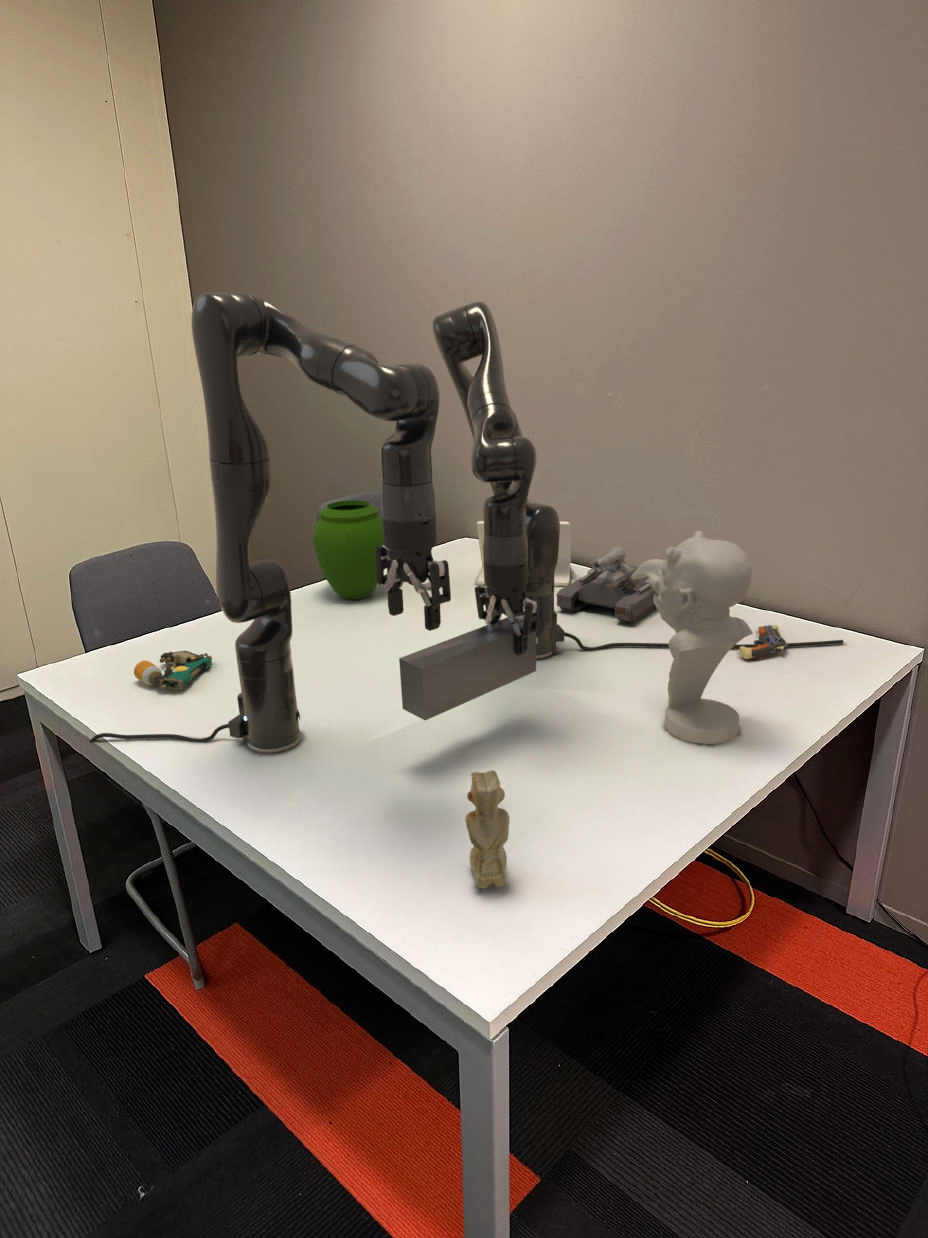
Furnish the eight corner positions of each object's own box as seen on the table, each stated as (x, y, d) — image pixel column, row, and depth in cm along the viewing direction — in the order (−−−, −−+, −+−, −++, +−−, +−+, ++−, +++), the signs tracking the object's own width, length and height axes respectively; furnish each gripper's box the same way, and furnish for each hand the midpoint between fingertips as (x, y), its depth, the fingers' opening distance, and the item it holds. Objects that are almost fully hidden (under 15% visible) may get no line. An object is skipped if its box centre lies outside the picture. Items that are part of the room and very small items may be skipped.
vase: (406, 590, 229) (401, 501, 221) (360, 612, 214) (353, 517, 206) (350, 579, 239) (343, 494, 231) (303, 600, 224) (293, 509, 216)
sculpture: (507, 859, 119) (506, 764, 113) (512, 893, 112) (511, 794, 107) (465, 861, 118) (462, 767, 113) (468, 895, 112) (465, 796, 106)
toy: (603, 584, 229) (605, 530, 224) (673, 597, 218) (677, 540, 213) (555, 612, 210) (556, 553, 205) (630, 627, 199) (633, 566, 194)
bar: (513, 661, 156) (512, 615, 153) (536, 671, 152) (536, 623, 149) (402, 709, 141) (398, 658, 137) (425, 720, 136) (422, 668, 133)
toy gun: (742, 650, 179) (792, 647, 177) (732, 623, 197) (777, 620, 194) (742, 662, 179) (792, 659, 177) (732, 635, 197) (778, 632, 195)
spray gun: (177, 659, 191) (231, 671, 185) (120, 684, 176) (176, 698, 171) (176, 641, 190) (230, 653, 184) (118, 665, 175) (174, 678, 169)
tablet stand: (569, 585, 229) (570, 524, 223) (476, 584, 232) (475, 523, 226) (570, 566, 246) (571, 508, 240) (484, 564, 249) (483, 507, 243)
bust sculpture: (671, 682, 170) (682, 511, 158) (763, 732, 151) (784, 540, 138) (606, 701, 164) (613, 523, 151) (694, 755, 144) (709, 555, 131)
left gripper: (357, 509, 122) (365, 616, 128) (419, 526, 112) (424, 641, 118) (399, 500, 127) (404, 603, 132) (462, 516, 116) (465, 627, 122)
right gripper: (460, 553, 147) (464, 643, 153) (520, 571, 137) (521, 667, 143) (492, 544, 151) (494, 632, 157) (552, 560, 141) (552, 653, 147)
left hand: (414, 621), depth 125 cm, fingers open, 8 cm apart
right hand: (507, 648), depth 150 cm, fingers closed on bar, 6 cm apart
